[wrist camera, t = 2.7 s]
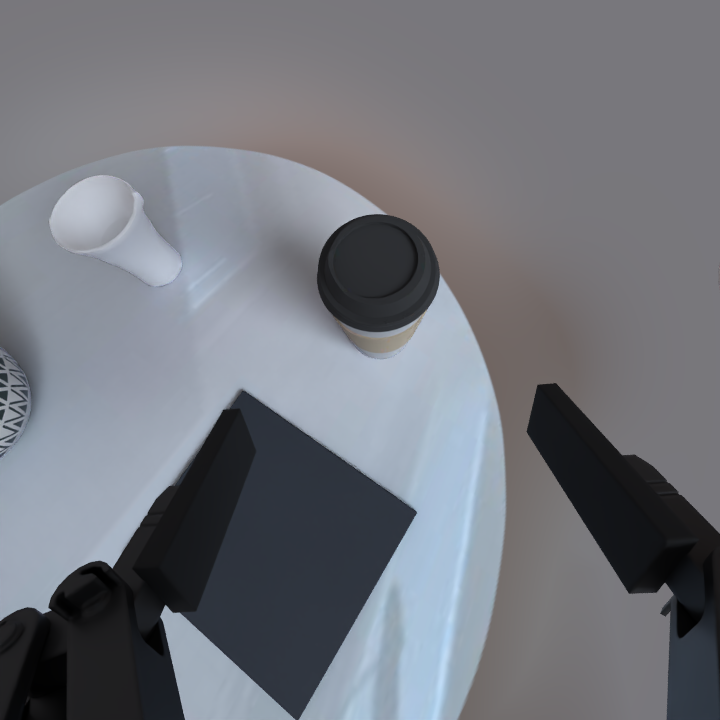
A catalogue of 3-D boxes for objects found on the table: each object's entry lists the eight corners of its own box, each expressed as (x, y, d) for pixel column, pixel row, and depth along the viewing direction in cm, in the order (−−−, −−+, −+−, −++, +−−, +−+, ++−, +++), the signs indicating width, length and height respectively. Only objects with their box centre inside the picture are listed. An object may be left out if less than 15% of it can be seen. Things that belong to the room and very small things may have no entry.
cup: (205, 282, 39) (144, 230, 29) (133, 307, 38) (48, 264, 29) (190, 224, 41) (130, 158, 31) (123, 248, 41) (41, 189, 31)
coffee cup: (405, 283, 36) (419, 181, 22) (432, 354, 34) (466, 295, 20) (331, 305, 36) (295, 219, 22) (352, 379, 34) (328, 337, 20)
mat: (416, 511, 31) (417, 512, 30) (299, 716, 27) (297, 721, 27) (244, 391, 35) (242, 390, 34) (125, 557, 32) (121, 559, 31)
